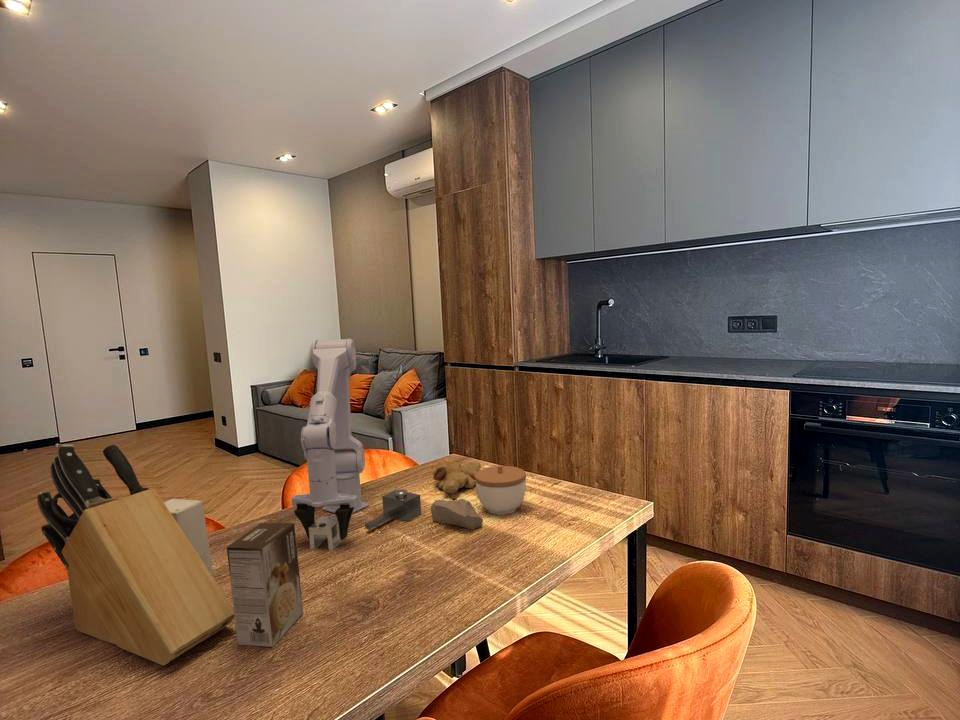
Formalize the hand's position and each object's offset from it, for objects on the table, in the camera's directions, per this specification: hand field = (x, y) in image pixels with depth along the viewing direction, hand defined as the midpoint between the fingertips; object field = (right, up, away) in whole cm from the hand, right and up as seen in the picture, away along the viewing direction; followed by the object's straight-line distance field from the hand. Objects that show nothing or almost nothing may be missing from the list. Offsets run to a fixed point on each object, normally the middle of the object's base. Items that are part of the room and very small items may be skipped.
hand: (327, 537), depth 113 cm
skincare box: (-24, -4, -13) cm, 28 cm away
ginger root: (+26, +3, +33) cm, 42 cm away
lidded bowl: (+39, +2, +14) cm, 42 cm away
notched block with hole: (0, -2, 0) cm, 2 cm away
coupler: (+12, 0, +10) cm, 16 cm away
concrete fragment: (+28, 0, +8) cm, 29 cm away
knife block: (-23, -6, -27) cm, 36 cm away
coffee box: (0, -5, -30) cm, 30 cm away
